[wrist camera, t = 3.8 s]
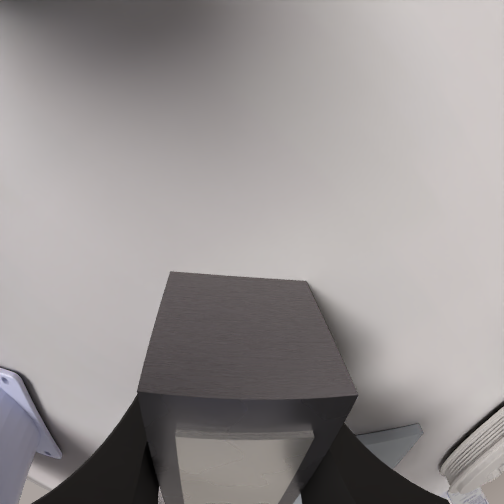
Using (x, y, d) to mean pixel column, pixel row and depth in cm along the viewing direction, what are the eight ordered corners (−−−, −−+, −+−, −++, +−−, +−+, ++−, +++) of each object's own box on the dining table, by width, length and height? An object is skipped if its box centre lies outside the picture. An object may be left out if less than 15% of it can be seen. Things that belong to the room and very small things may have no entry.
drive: (176, 426, 13) (169, 522, 8) (170, 271, 10) (135, 398, 5) (267, 429, 14) (282, 522, 9) (306, 281, 10) (361, 401, 6)
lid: (530, 361, 16) (563, 400, 11) (542, 393, 20) (563, 421, 15) (415, 464, 19) (434, 509, 14) (459, 469, 23) (474, 499, 18)
